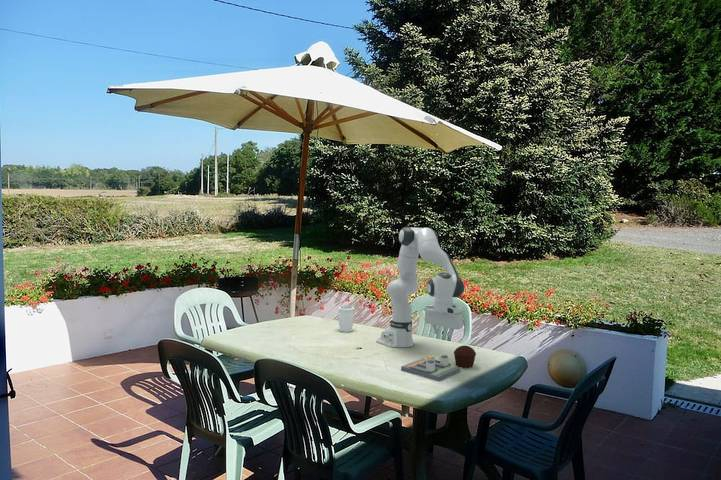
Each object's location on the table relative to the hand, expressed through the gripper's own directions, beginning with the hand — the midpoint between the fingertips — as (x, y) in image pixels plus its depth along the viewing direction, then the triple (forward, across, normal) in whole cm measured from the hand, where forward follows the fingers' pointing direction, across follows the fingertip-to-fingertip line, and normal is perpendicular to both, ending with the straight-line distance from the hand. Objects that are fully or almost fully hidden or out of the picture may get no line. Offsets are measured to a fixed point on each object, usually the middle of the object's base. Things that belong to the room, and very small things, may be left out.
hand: (442, 335), depth 254 cm
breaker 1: (+17, -3, -6) cm, 18 cm away
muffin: (+20, +1, +19) cm, 28 cm away
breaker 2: (+17, -3, +6) cm, 18 cm away
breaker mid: (+17, -7, 0) cm, 18 cm away
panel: (+19, -7, 0) cm, 20 cm away
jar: (+19, -91, +28) cm, 97 cm away
